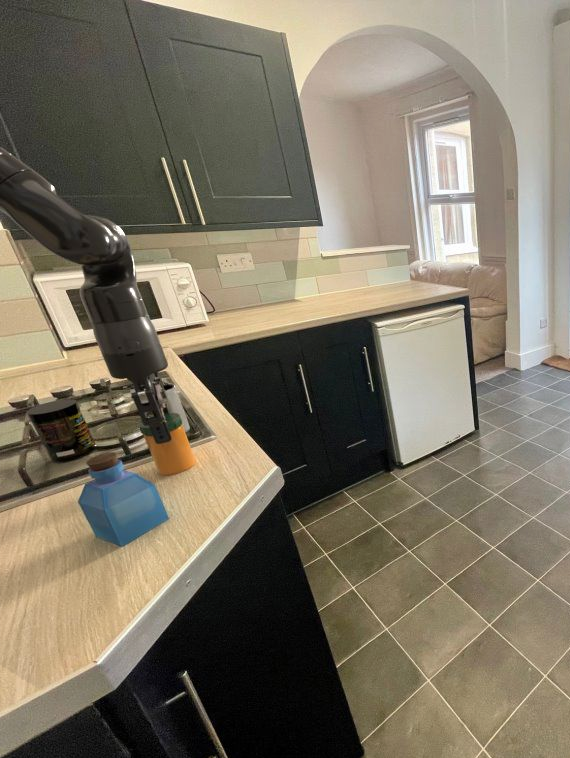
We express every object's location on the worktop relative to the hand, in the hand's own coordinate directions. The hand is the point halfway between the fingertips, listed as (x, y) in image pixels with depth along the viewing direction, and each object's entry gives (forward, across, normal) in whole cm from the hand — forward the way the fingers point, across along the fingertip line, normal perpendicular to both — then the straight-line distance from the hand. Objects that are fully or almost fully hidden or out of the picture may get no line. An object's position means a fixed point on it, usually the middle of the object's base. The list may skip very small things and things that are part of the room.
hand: (165, 433), depth 75 cm
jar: (+7, 0, 0) cm, 7 cm away
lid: (-2, 0, 0) cm, 2 cm away
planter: (+7, -18, 0) cm, 19 cm away
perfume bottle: (+7, +17, -5) cm, 19 cm away
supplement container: (+7, -19, -17) cm, 26 cm away
